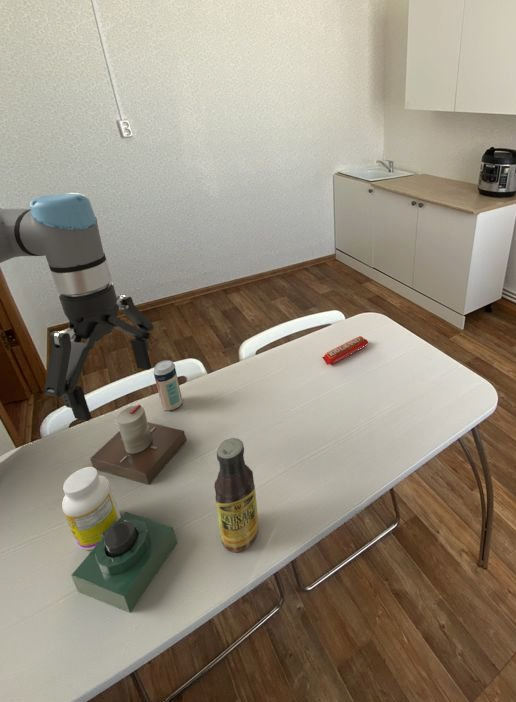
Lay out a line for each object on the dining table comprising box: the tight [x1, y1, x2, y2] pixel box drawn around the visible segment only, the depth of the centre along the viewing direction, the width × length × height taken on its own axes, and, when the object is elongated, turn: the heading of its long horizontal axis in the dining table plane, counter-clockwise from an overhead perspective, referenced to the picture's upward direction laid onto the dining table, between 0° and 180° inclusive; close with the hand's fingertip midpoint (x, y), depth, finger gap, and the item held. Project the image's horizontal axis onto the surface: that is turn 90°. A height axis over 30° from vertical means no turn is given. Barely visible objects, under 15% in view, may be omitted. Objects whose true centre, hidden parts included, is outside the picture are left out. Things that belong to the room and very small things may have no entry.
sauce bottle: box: [214, 437, 259, 553], centre depth 63 cm, size 7×6×20 cm
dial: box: [116, 403, 152, 454], centre depth 80 cm, size 5×5×8 cm
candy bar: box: [321, 335, 369, 366], centre depth 114 cm, size 16×4×3 cm, turn 131°
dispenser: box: [70, 511, 178, 613], centre depth 61 cm, size 10×10×6 cm
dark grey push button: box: [104, 521, 137, 557], centre depth 60 cm, size 4×4×2 cm
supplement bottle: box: [61, 466, 122, 551], centre depth 65 cm, size 7×7×13 cm
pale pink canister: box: [152, 359, 184, 411], centre depth 94 cm, size 5×5×12 cm
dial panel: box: [89, 421, 187, 486], centre depth 82 cm, size 14×11×3 cm
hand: (116, 390), depth 71 cm, fingers open, 13 cm apart
